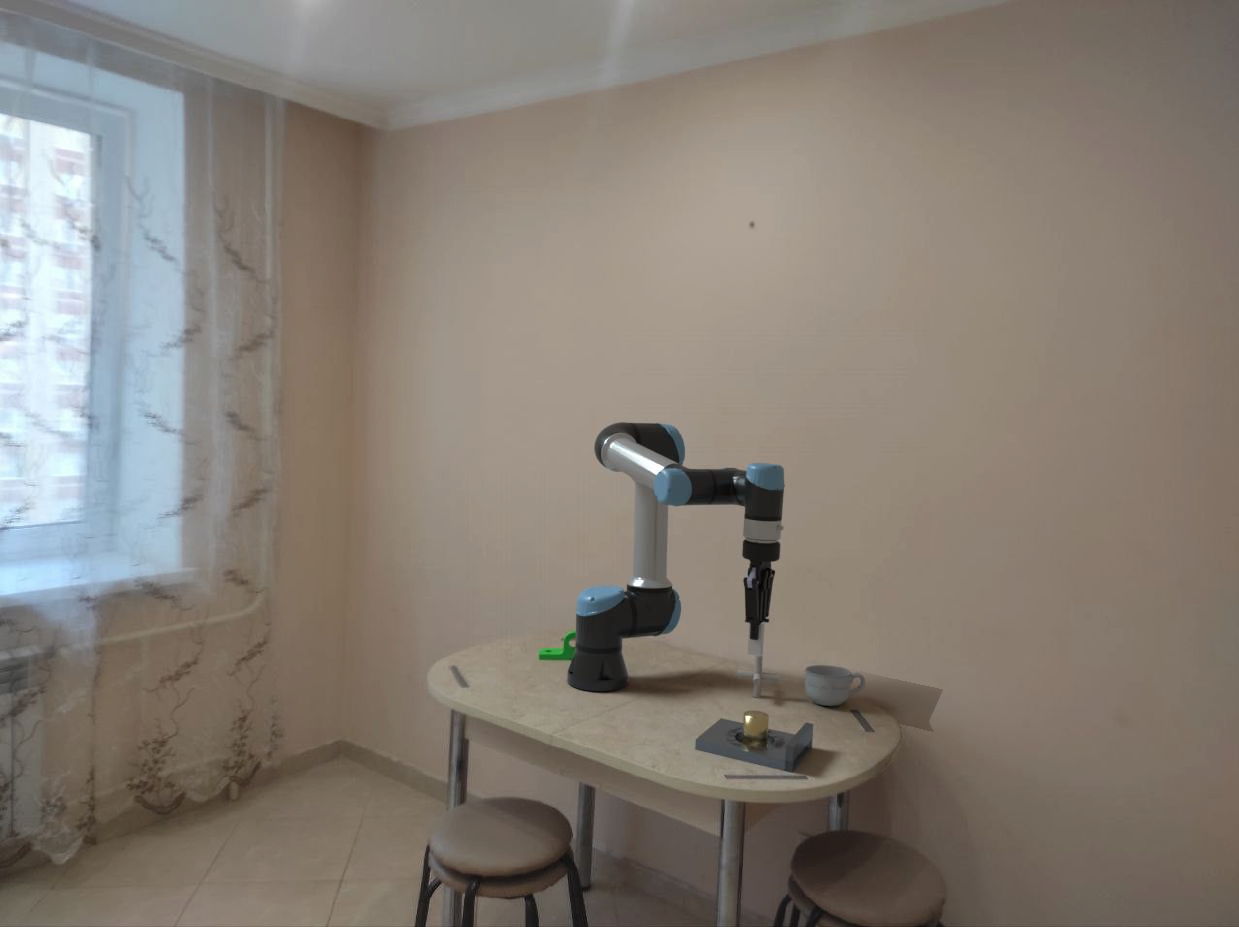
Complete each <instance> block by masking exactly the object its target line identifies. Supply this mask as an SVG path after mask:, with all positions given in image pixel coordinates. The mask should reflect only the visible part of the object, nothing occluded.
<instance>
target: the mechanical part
mask: <svg viewBox="0 0 1239 927" xmlns="http://www.w3.org/2000/svg"><path fill="white" fill-rule="evenodd" d="M573 639H575V640H576V630H571V631H568V632H567V633H566V634H565V635H564V637H563V646H562V647H563V648H562V647H561V648H560V647H546V648H541V649H539V651H538V660H539V661H540V660H543V661H551V660H552V661H572V658H573V655H574V652H575V646H572V645H570V641H572V640H573Z"/></svg>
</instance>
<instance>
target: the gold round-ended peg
mask: <svg viewBox="0 0 1239 927" xmlns="http://www.w3.org/2000/svg"><path fill="white" fill-rule="evenodd" d="M769 717H770V716H769V714H768V713H767V712H764V711H760V710H754V709H753V710H746V711H744V712H743V718H742V719H743V722H742V723H743V739H742V741H741V743H742V744H745V745H749V746H754V747H765V746H768V744H767V739H768V729H769Z"/></svg>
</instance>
